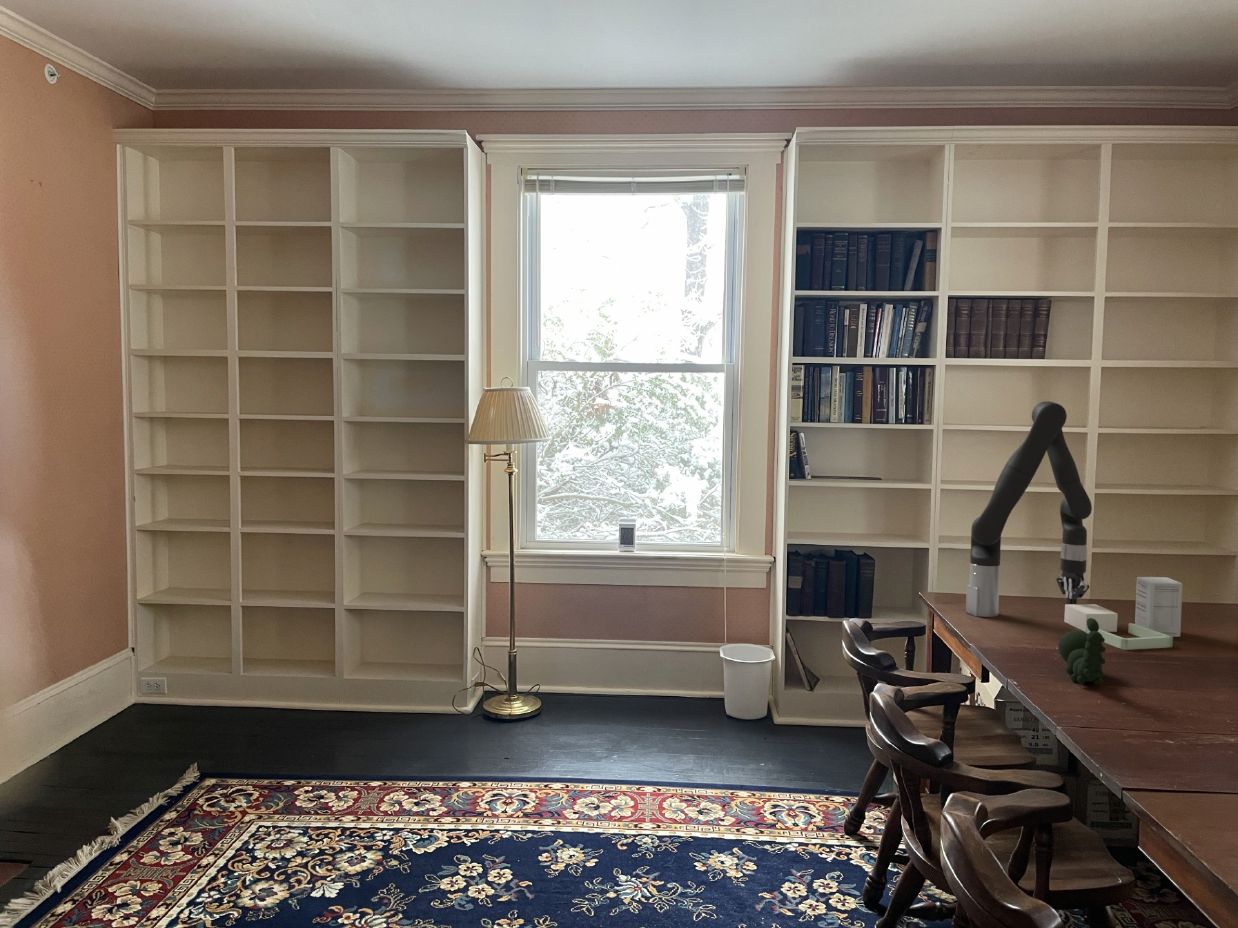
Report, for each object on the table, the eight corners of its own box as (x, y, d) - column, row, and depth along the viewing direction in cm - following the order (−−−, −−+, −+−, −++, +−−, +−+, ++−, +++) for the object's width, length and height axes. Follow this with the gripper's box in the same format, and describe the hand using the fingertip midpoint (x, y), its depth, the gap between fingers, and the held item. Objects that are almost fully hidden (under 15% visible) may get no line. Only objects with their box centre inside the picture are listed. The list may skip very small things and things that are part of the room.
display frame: (1123, 649, 248) (1124, 639, 248) (1085, 635, 263) (1085, 625, 263) (1172, 646, 251) (1173, 636, 251) (1131, 632, 266) (1132, 623, 266)
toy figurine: (1113, 700, 211) (1089, 661, 235) (1119, 627, 208) (1094, 595, 231) (1071, 696, 214) (1051, 658, 237) (1076, 624, 210) (1055, 593, 234)
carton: (1085, 632, 267) (1086, 613, 267) (1064, 622, 279) (1065, 604, 279) (1116, 632, 267) (1117, 613, 267) (1094, 622, 279) (1095, 604, 279)
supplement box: (1165, 629, 270) (1168, 576, 269) (1181, 637, 261) (1184, 583, 260) (1133, 628, 271) (1136, 576, 270) (1148, 636, 262) (1151, 582, 261)
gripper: (1049, 554, 285) (1047, 604, 287) (1078, 561, 272) (1075, 614, 274) (1069, 553, 287) (1067, 603, 288) (1098, 560, 274) (1096, 613, 275)
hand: (1071, 609), depth 281 cm, fingers closed
